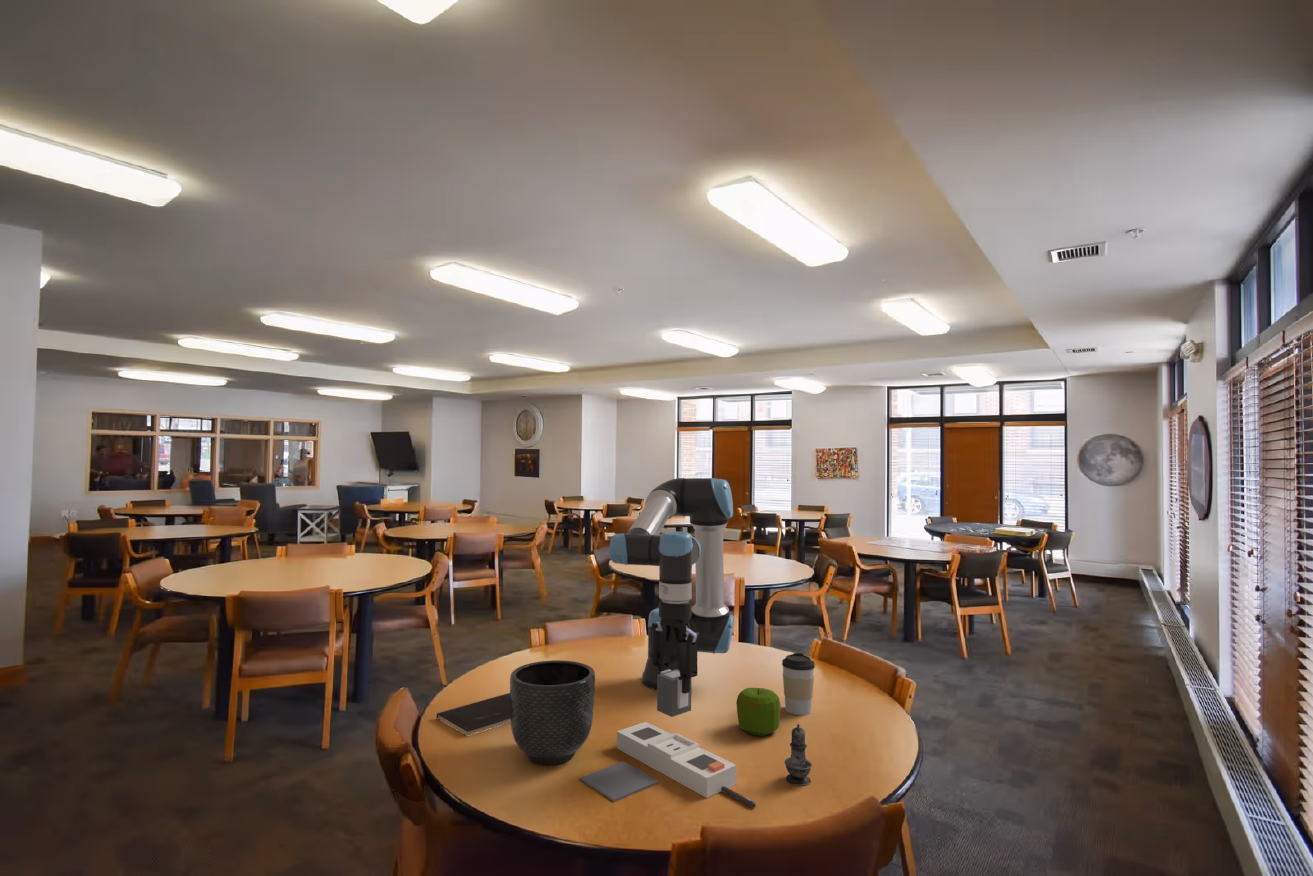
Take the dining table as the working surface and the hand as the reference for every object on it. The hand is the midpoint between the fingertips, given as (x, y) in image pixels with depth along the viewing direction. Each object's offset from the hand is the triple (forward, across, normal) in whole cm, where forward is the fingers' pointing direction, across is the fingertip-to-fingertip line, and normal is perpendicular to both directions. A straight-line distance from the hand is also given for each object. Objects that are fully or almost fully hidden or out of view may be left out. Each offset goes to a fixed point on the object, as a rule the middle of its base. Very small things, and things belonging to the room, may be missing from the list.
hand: (674, 702), depth 146 cm
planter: (+14, -22, -19) cm, 32 cm away
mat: (+14, -2, -14) cm, 20 cm away
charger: (+2, 0, 0) cm, 2 cm away
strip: (+14, +5, 0) cm, 15 cm away
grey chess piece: (+14, +23, +16) cm, 31 cm away
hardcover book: (+15, -52, -19) cm, 57 cm away
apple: (+14, 0, +30) cm, 33 cm away
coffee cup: (+15, -1, +49) cm, 51 cm away
